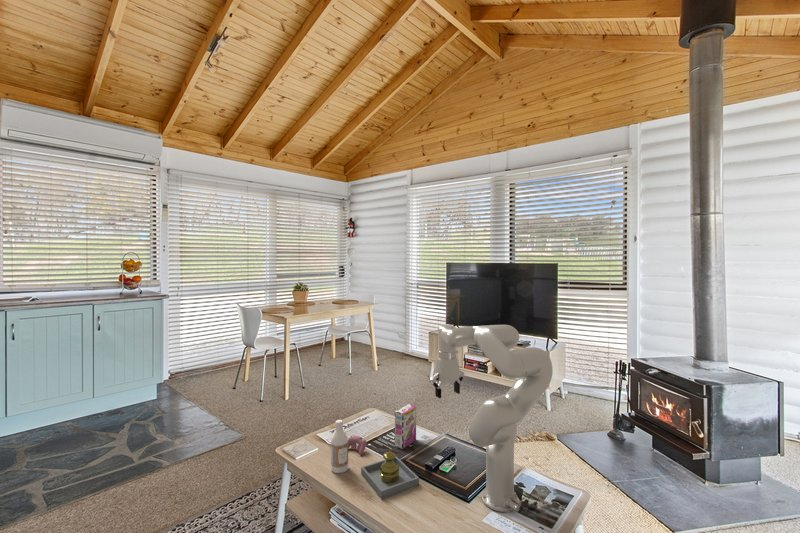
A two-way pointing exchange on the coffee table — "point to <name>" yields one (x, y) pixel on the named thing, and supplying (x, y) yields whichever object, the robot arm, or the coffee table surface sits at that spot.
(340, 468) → the bath foam
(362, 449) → the pink lumpy piece
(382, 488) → the tray
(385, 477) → the salt shaker
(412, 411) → the candy bar box
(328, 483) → the coffee table surface
